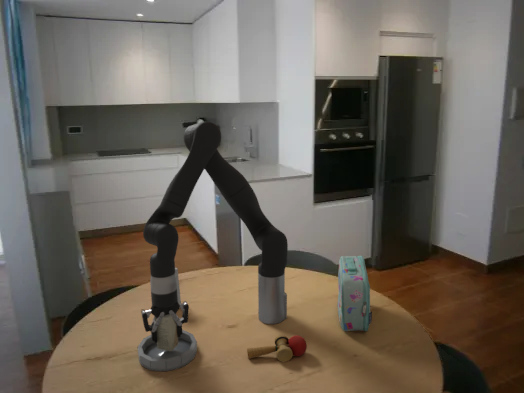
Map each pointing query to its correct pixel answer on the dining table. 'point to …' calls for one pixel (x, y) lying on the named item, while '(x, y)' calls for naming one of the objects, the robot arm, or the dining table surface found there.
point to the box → (167, 333)
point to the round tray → (167, 353)
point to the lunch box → (353, 294)
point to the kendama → (281, 348)
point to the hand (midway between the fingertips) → (167, 338)
